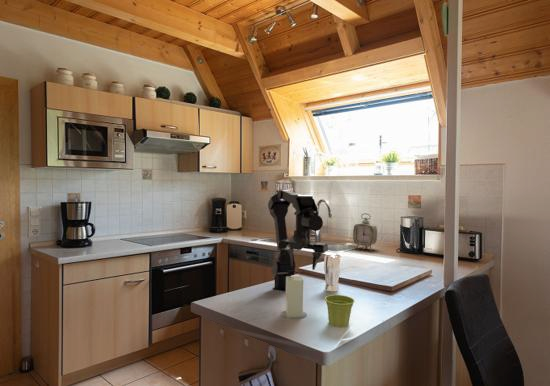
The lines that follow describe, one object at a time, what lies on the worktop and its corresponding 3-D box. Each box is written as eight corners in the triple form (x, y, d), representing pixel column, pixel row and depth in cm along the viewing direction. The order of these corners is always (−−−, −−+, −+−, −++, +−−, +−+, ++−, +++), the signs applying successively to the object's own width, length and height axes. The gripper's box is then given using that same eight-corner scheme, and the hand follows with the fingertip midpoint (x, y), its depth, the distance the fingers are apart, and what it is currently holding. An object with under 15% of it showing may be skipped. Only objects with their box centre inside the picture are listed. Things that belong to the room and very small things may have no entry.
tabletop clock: (352, 248, 263) (353, 213, 262) (358, 247, 270) (359, 212, 270) (372, 251, 254) (373, 214, 254) (377, 249, 262) (378, 213, 261)
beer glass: (327, 287, 167) (328, 253, 166) (342, 289, 163) (343, 255, 163) (320, 290, 161) (321, 255, 160) (336, 293, 157) (337, 257, 157)
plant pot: (351, 320, 127) (351, 295, 126) (356, 332, 117) (356, 304, 117) (323, 319, 127) (323, 294, 127) (325, 331, 118) (326, 303, 117)
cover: (285, 311, 132) (286, 276, 131) (300, 311, 132) (300, 276, 132) (287, 317, 126) (287, 280, 126) (302, 317, 127) (303, 280, 127)
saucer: (276, 318, 127) (276, 316, 127) (287, 310, 135) (287, 308, 135) (300, 323, 123) (300, 321, 123) (310, 315, 131) (310, 312, 131)
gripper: (271, 228, 142) (270, 269, 142) (318, 231, 133) (317, 275, 134) (284, 225, 151) (283, 263, 152) (329, 228, 143) (328, 269, 143)
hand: (302, 268), depth 145 cm, fingers open, 9 cm apart
